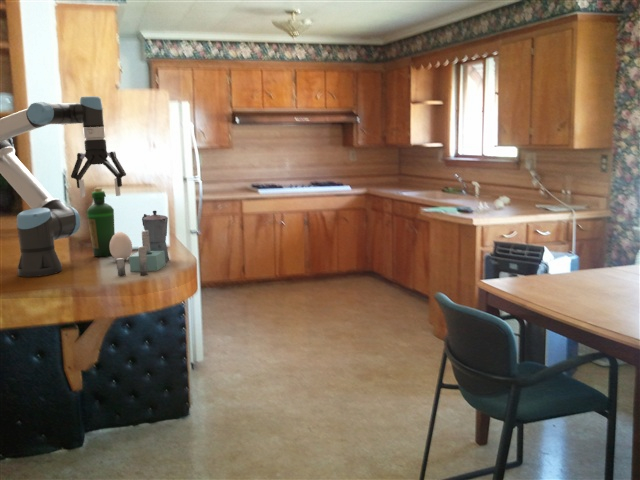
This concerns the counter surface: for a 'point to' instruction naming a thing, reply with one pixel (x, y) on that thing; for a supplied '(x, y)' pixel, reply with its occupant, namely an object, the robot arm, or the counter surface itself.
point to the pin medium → (142, 260)
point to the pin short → (121, 267)
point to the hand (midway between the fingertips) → (100, 196)
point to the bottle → (100, 224)
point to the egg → (120, 246)
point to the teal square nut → (148, 261)
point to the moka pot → (156, 232)
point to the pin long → (146, 241)
